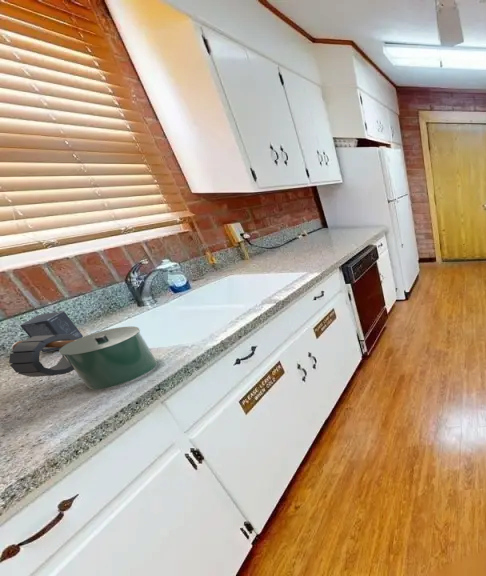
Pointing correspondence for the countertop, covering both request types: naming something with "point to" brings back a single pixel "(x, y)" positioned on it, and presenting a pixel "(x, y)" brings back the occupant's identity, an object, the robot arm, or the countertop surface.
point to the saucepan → (107, 356)
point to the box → (50, 326)
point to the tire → (28, 356)
